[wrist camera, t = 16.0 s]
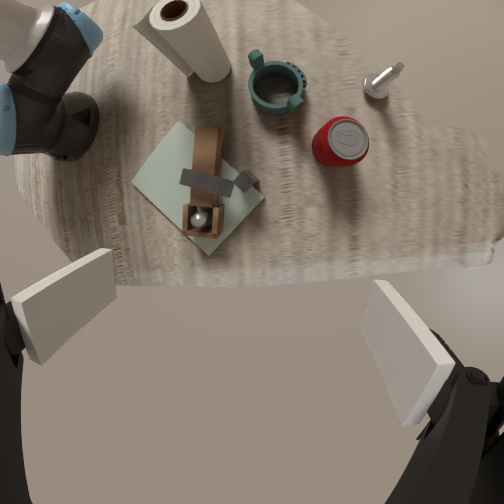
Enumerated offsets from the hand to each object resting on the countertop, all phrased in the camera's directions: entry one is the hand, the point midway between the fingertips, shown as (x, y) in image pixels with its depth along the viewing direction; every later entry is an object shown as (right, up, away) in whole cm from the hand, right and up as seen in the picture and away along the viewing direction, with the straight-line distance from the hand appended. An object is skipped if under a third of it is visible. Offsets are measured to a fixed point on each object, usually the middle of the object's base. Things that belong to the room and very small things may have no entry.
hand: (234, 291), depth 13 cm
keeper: (-4, +14, +32) cm, 36 cm away
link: (-6, +14, +32) cm, 35 cm away
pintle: (-7, +8, +33) cm, 35 cm away
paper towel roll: (-6, +34, +27) cm, 44 cm away
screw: (+22, +30, +26) cm, 45 cm away
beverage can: (+14, +19, +30) cm, 38 cm away
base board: (-9, +13, +33) cm, 37 cm away
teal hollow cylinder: (+5, +29, +28) cm, 40 cm away
